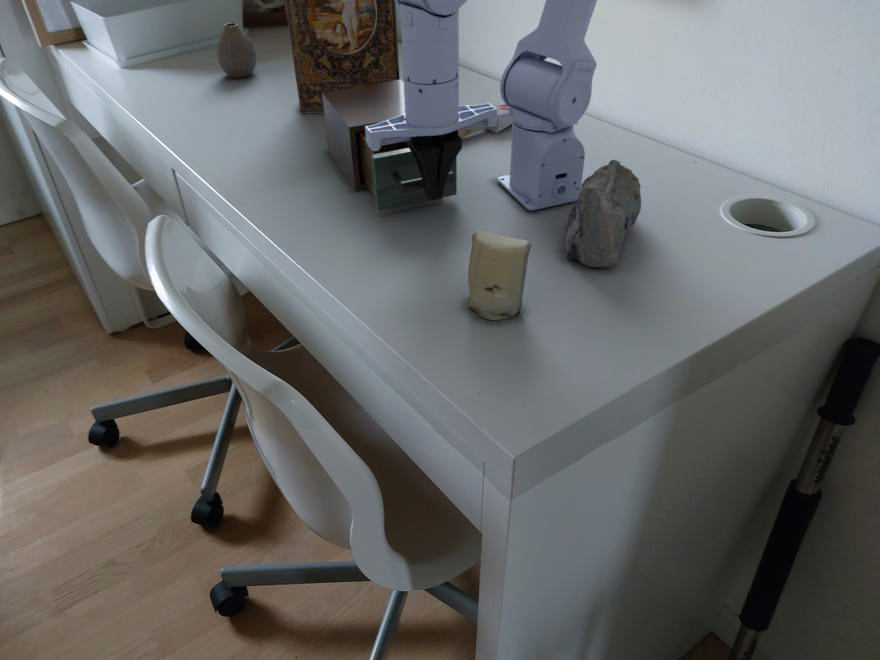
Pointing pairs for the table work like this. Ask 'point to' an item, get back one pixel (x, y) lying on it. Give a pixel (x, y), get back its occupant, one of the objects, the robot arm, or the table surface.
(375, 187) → the drawer
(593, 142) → the table surface
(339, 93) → the cabinet
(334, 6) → the book
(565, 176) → the robot arm
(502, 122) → the paintbrush
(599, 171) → the mineral rock
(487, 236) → the cream tall block
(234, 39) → the vase
